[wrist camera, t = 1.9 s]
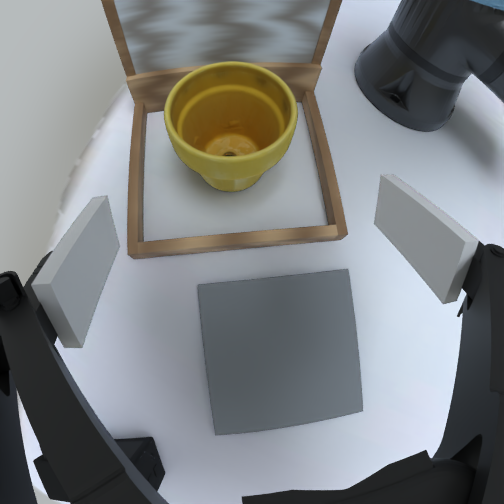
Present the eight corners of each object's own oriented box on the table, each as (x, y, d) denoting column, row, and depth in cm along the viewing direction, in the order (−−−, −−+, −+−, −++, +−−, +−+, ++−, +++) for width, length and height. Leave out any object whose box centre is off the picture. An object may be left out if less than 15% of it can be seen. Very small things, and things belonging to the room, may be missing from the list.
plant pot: (160, 184, 30) (136, 129, 21) (211, 110, 33) (207, 47, 23) (253, 228, 30) (263, 184, 20) (296, 147, 32) (317, 87, 23)
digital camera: (151, 425, 25) (129, 451, 18) (166, 472, 24) (151, 507, 17) (62, 429, 24) (27, 448, 17) (78, 473, 23) (49, 499, 16)
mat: (345, 269, 30) (348, 268, 29) (360, 409, 27) (363, 410, 26) (198, 285, 28) (197, 284, 28) (215, 433, 25) (215, 435, 25)
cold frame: (307, 92, 34) (346, -30, 17) (340, 239, 30) (450, 147, 13) (139, 104, 32) (99, -20, 15) (134, 259, 28) (27, 176, 11)
